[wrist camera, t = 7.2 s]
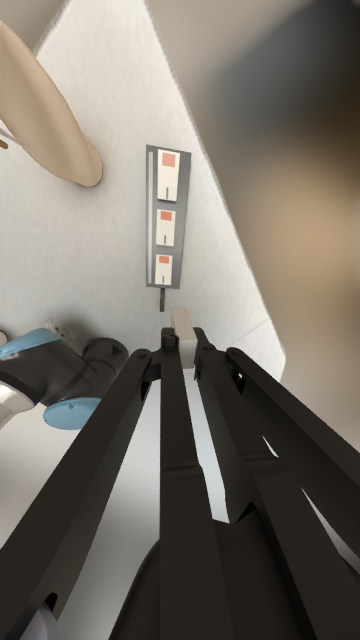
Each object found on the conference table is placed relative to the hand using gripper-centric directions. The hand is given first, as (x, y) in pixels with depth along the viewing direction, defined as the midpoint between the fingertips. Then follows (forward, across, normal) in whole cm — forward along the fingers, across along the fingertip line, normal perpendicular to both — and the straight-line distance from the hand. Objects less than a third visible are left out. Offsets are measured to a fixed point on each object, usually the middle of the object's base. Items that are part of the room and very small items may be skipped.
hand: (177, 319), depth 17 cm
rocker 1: (+24, -1, +20) cm, 31 cm away
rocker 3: (+24, -1, +2) cm, 25 cm away
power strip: (+30, -1, +7) cm, 31 cm away
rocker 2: (+24, -1, +11) cm, 27 cm away
